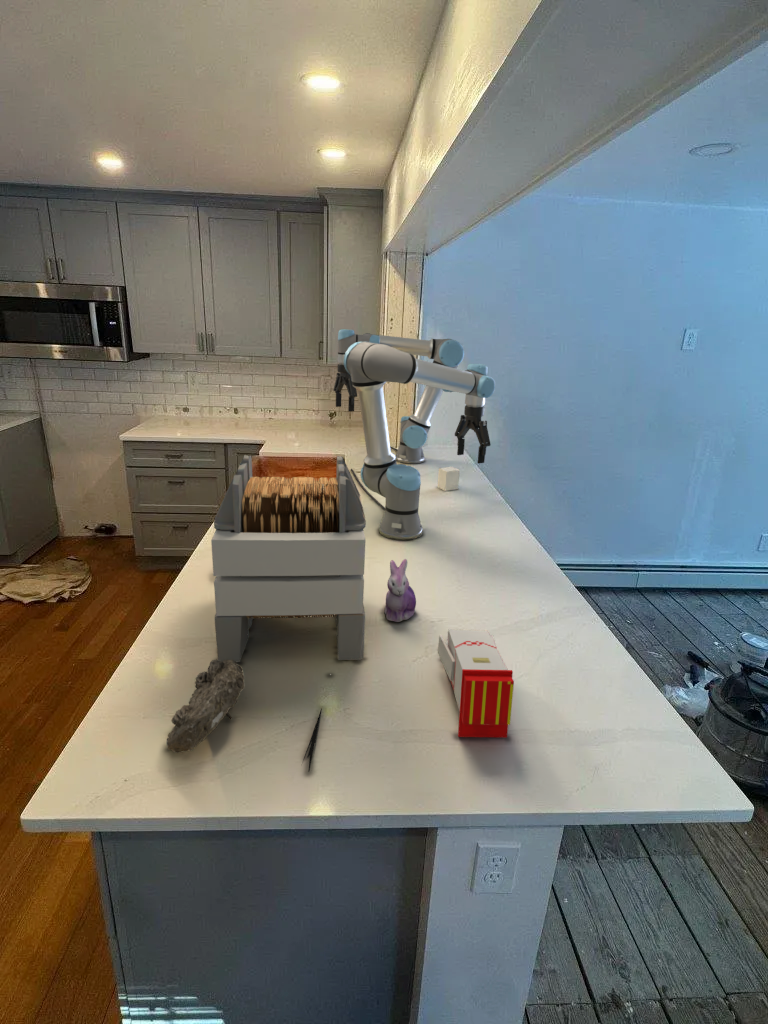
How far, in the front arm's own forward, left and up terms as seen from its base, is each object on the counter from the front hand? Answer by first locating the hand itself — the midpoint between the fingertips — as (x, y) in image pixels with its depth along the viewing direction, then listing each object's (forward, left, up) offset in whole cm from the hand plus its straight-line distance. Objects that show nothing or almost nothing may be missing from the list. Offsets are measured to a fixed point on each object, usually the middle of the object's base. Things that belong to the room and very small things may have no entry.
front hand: (470, 458), depth 226 cm
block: (-20, +11, -20) cm, 30 cm away
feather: (+69, -120, -20) cm, 140 cm away
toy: (+82, -91, -20) cm, 124 cm away
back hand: (-77, -5, +8) cm, 77 cm away
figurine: (+49, -81, -20) cm, 97 cm away
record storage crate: (+37, -105, -20) cm, 113 cm away
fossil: (+56, -136, -20) cm, 149 cm away
